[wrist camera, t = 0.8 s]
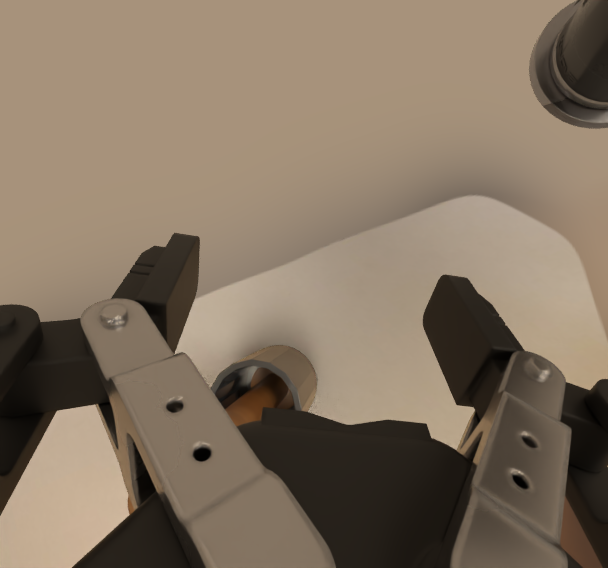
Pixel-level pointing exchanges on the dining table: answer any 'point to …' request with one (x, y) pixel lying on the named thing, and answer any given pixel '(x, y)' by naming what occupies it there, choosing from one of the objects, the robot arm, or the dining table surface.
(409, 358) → the dining table surface
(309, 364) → the holder
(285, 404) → the cylinder
